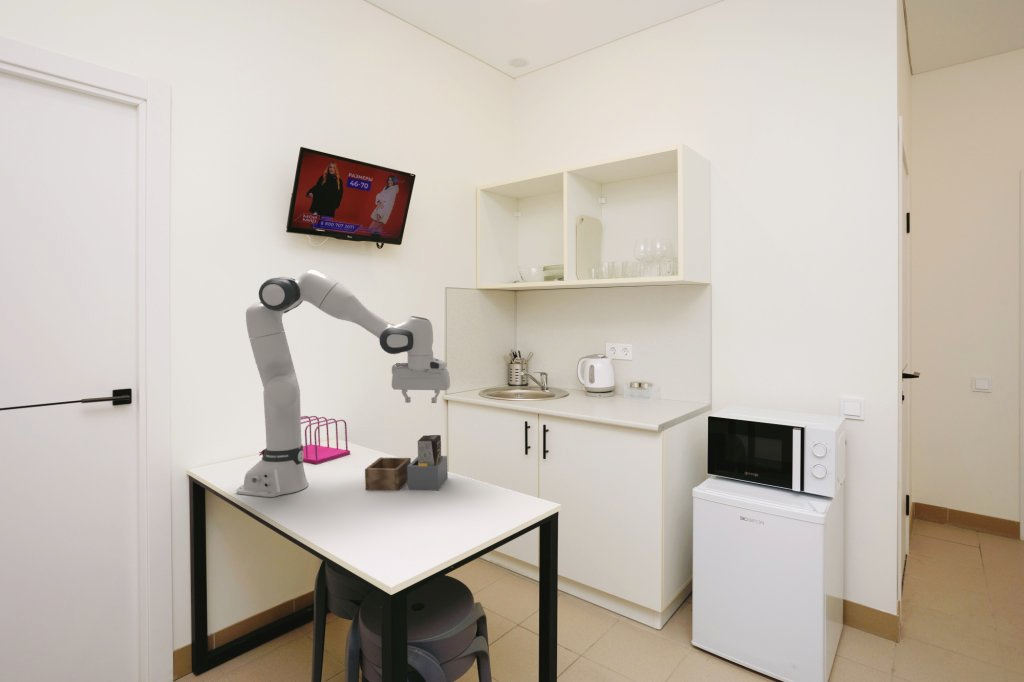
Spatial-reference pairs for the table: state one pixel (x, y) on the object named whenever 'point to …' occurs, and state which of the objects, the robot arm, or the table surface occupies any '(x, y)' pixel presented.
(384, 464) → the open wooden box
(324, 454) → the file sorter
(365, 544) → the table surface
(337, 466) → the table surface
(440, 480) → the frame
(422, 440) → the coffee box
